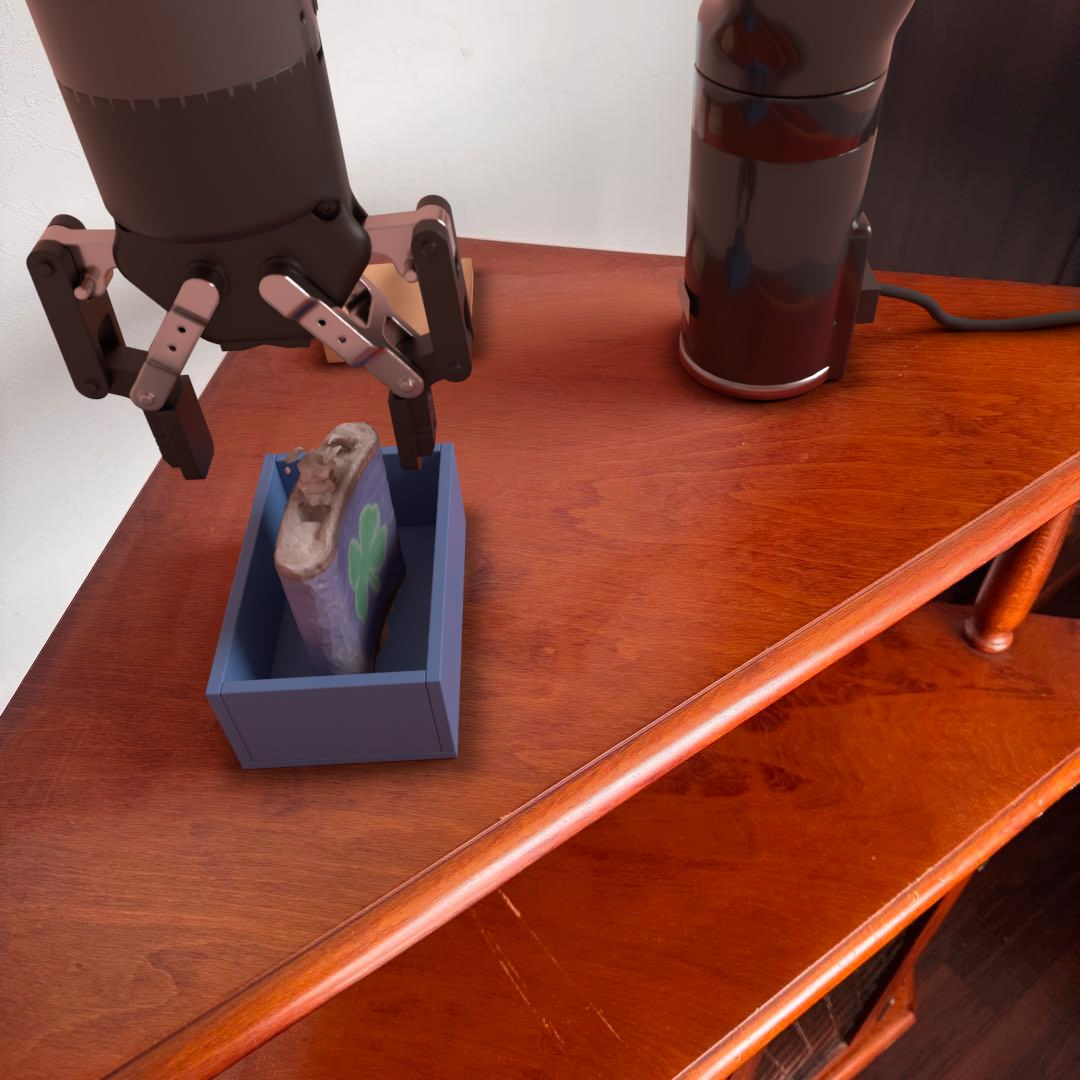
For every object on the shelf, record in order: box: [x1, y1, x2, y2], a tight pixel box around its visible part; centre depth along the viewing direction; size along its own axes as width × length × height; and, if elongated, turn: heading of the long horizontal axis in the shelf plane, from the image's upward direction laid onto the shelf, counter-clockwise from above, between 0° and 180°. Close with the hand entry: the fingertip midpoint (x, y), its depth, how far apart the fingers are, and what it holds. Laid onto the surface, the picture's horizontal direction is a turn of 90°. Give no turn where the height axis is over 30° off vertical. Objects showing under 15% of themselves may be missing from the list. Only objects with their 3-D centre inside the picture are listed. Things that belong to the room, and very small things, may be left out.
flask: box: [273, 421, 408, 677], centre depth 44 cm, size 9×3×11 cm, turn 172°
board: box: [322, 257, 474, 364], centre depth 66 cm, size 9×9×2 cm
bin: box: [204, 441, 467, 770], centre depth 46 cm, size 9×14×6 cm, turn 1°
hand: (307, 461), depth 40 cm, fingers open, 8 cm apart
